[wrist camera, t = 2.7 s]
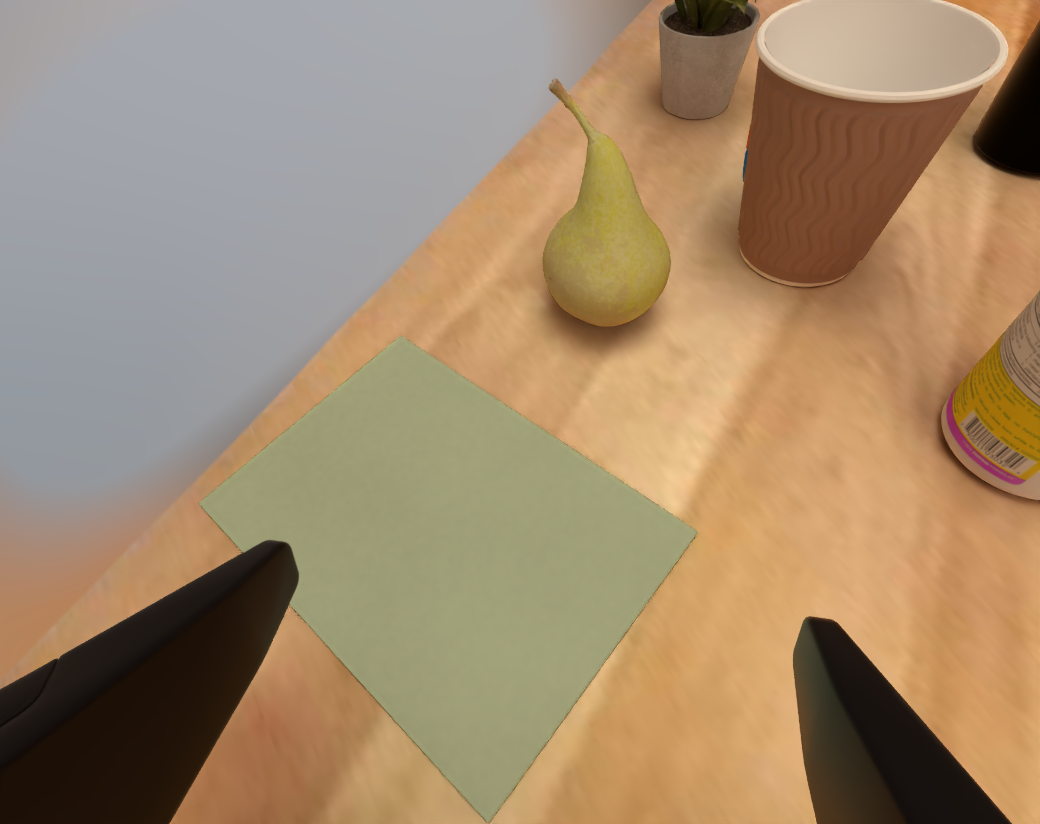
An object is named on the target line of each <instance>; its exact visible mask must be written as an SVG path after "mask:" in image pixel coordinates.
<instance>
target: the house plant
mask: <svg viewBox="0 0 1040 824" xmlns="http://www.w3.org/2000/svg"><path fill="white" fill-rule="evenodd" d="M755 2H756V0H755ZM759 19H760V14H759V11H758V9H757V8H756V7H755V6H753V5H752V4H751V3H748V0H675V2H674V3H672V4H670V5H669V6H667V7H666V8H665V9H664V10H663V11H662V12H661V14H660V16H659V35H660V57H661V79H662V102H663V107H664V108H665V110H666V111H667V112H669V113H671V114H673V115H676V116H678V117H681V118H685V119H706V118H710V117H714V116H716V115H719V114H720V113H722V112H723V111H724V110H725V109H726V108H727V106H728V103H729V101H730V98H731V95H732V93H733V90H734V87H735V84H736V82H737V79H738V76H739V74H740V71H741V68H742V66H743V63H744V60H745V58H746V55H747V52H748V50H749V47H750V44H751V41H752V39H753V36H754V33H755V31H756V28H757V25H758V23H759Z"/></svg>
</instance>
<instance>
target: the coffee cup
mask: <svg viewBox="0 0 1040 824" xmlns="http://www.w3.org/2000/svg"><path fill="white" fill-rule="evenodd" d="M765 35H766V38H765ZM764 40H765V42H764ZM756 48H757V52H758V55H759V62H758V69H757V77H756V86H755V94H754V102H753V110H752V120H751V125H750V130H749V135H748V141H747V147H746V148H747V150H746V153H745V159H744V167H743V182H744V185H743V193H742V201H741V210H740V219H739V226H738V230H739V249H740V253H741V255H742V257H743V259H744V261H745V262H746V263H747V264H748V265H749V266H750V267H751V268H752V269H753V270H755V271H756V272H757V273H759V274H760V275H762V276H764V277H766V278H767V279H770V280H772V281H775V282H778V283H782V284H785V285H790V286H798V287H814V286H821V285H826V284H829V283H833V282H836V281H838V280H840V279H841V278H843V277H845V276H846V275H847V274H848V273H850V272H851V270H852V269H853V268H854V267H855V266H856V264H857V263H858V262H859V261H860V260H862V259H863V257H864V256H865V255H866V254H867V252H868V251H869V249H870V248H871V246H872V245H873V243H874V242H875V241H876V239H877V238H878V236H879V235H880V233H881V232H882V231H883V229H884V228H885V226H886V225H887V223H888V222H889V220H890V219H891V217H892V216H893V215H894V213H895V212H896V210H897V209H898V207H899V206H900V205H901V203H902V202H903V200H904V199H905V197H906V196H907V194H908V193H909V191H910V190H911V189H912V187H913V186H914V184H915V183H916V181H917V180H918V178H919V177H920V175H921V174H922V172H923V171H924V170H925V168H926V167H927V166H928V164H929V163H930V161H931V160H932V158H933V157H934V155H935V154H936V153H937V151H938V150H939V148H940V147H941V145H942V144H943V142H944V141H945V139H946V138H947V137H948V135H949V134H950V132H951V131H952V129H953V128H954V126H955V125H956V123H957V122H958V120H959V119H960V118H961V116H962V115H963V113H964V112H965V111H966V109H967V108H968V106H969V105H970V103H971V102H972V101H973V99H974V98H975V96H976V95H977V93H978V92H979V90H980V89H981V88H982V86H983V84H984V83H986V82H987V81H989V80H990V79H992V78H993V77H994V76H995V75H996V74H997V73H998V72H999V71H1000V70H1001V69H1002V67H1003V66H1004V64H1005V62H1006V60H1007V55H1008V45H1007V41H1006V39H1005V37H1004V35H1003V34H1002V33H1001V31H1000V30H999V29H998V28H997V27H996V26H995V25H994V24H992V23H991V22H990V21H988V20H987V19H985V18H984V17H982V16H980V15H978V14H977V13H975V12H972V11H970V10H968V9H966V8H963V7H961V6H958V5H955V4H952V3H949V2H946V1H942V0H802V1H799V2H796V3H793V4H790V5H788V6H786V7H784V8H782V9H780V10H778V11H777V12H775V13H773V14H772V15H771V16H770V17H768V18H767V19H766V20H765V21H764V23H763V24H762V25H761V27H760V29H759V30H758V32H757V35H756ZM995 58H996V59H995ZM994 60H995V61H994ZM993 61H994V63H993ZM992 63H993V64H992ZM991 64H992V66H991ZM990 66H991V67H990Z"/></svg>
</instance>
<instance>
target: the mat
mask: <svg viewBox="0 0 1040 824" xmlns="http://www.w3.org/2000/svg"><path fill="white" fill-rule="evenodd" d="M198 504H199V505H200V506H201V507H202V508H203V509H204V510H205V512H206V513H207V514H208V515H209V516H210V517H211V518H212V519H213V520H214V522H215V523H216V524H217V525H218V526H219V527H220V528H221V529H222V530H223V531H224V533H225V534H226V535H227V536H228V537H229V538H230V539H231V540H232V541H233V543H234V544H235V545H236V546H237V547H238V548H239V549H240V550H241V551H242V553H244V552H245V551H247V550H249V549H251V548H252V547H254V546H256V545H258V544H260V543H261V542H263V541H266V540H276V541H283V542H287V543H288V544H289V545H290V546H291V548H292V552H293V555H294V558H295V561H296V565H297V568H298V571H299V582H298V585H297V588H296V590H295V592H294V595H293V597H292V599H291V601H290V603H289V604H290V606H291V607H292V608H293V609H294V610H295V611H296V612H297V613H298V614H299V616H300V617H301V618H302V619H303V620H304V621H305V622H306V623H307V624H308V625H309V627H310V628H311V629H312V630H313V631H314V632H315V633H316V634H317V635H318V637H319V638H320V639H321V640H322V641H323V642H324V643H325V644H326V645H327V646H328V648H329V649H330V650H331V651H332V652H333V653H334V654H335V655H336V656H337V658H338V659H339V660H340V661H341V662H342V663H343V664H344V665H345V666H346V667H347V669H348V670H349V671H350V672H351V673H352V674H353V675H354V676H355V677H356V679H357V680H358V681H359V682H360V683H361V684H362V685H363V686H364V687H365V688H366V690H367V691H368V692H369V693H370V694H371V695H372V696H373V697H374V698H375V700H376V701H377V702H378V703H379V704H380V705H381V706H382V707H383V708H384V709H385V711H386V712H387V713H388V714H389V715H390V716H391V717H392V718H393V719H394V721H395V722H396V723H397V724H398V725H399V726H400V727H401V728H402V729H403V730H404V732H405V733H406V734H407V735H408V736H409V737H410V738H411V739H412V740H413V742H414V743H415V744H416V745H417V746H418V747H419V748H420V749H421V750H422V751H423V753H424V754H425V755H426V756H427V757H428V758H429V759H430V760H431V761H432V763H433V764H434V765H435V766H436V767H437V768H438V769H439V770H440V771H441V772H442V774H443V775H444V776H445V777H446V778H447V779H448V780H449V781H450V782H451V784H452V785H453V786H454V787H455V788H456V789H457V790H458V791H459V792H460V793H461V795H462V796H463V797H464V798H465V799H466V800H467V801H468V802H469V803H470V805H471V806H472V807H473V808H474V809H475V810H476V811H477V812H478V813H479V814H480V816H481V817H482V818H483V819H484V820H485V821H486V822H487V823H490V821H491V820H492V819H493V817H494V816H495V814H496V813H497V812H498V810H499V809H500V807H501V806H502V805H503V803H504V802H505V800H506V799H507V798H508V796H509V795H510V794H511V792H512V791H513V789H514V788H515V787H516V785H517V784H518V782H519V781H520V780H521V778H522V777H523V775H524V774H525V773H526V771H527V770H528V768H529V767H530V766H531V764H532V763H533V761H534V760H535V759H536V757H537V756H538V755H539V753H540V752H541V750H542V749H543V748H544V746H545V745H546V743H547V742H548V741H549V739H550V738H551V736H552V735H553V734H554V732H555V731H556V729H557V728H558V727H559V725H560V724H561V723H562V721H563V720H564V718H565V717H566V716H567V714H568V713H569V711H570V710H571V709H572V707H573V706H574V704H575V703H576V702H577V700H578V699H579V697H580V696H581V695H582V693H583V692H584V691H585V689H586V688H587V686H588V685H589V684H590V682H591V681H592V679H593V678H594V677H595V675H596V674H597V672H598V671H599V670H600V668H601V667H602V665H603V664H604V663H605V661H606V660H607V658H608V657H609V656H610V654H611V653H612V652H613V650H614V649H615V647H616V646H617V645H618V643H619V642H620V640H621V639H622V638H623V636H624V635H625V633H626V632H627V631H628V629H629V628H630V626H631V625H632V624H633V622H634V621H635V620H636V618H637V617H638V615H639V614H640V613H641V611H642V610H643V608H644V607H645V606H646V604H647V603H648V601H649V600H650V599H651V597H652V596H653V594H654V593H655V592H656V590H657V589H658V588H659V586H660V585H661V583H662V582H663V581H664V579H665V578H666V576H667V575H668V574H669V572H670V571H671V569H672V568H673V567H674V565H675V564H676V562H677V561H678V560H679V558H680V557H681V555H682V554H683V553H684V551H685V550H686V549H687V547H688V546H689V544H690V543H691V542H692V540H693V539H694V537H695V536H696V535H697V533H698V531H696V530H695V529H693V528H692V527H690V526H689V525H687V524H686V523H684V522H683V521H681V520H680V519H678V518H677V517H675V516H674V515H672V514H671V513H669V512H668V511H666V510H665V509H663V508H662V507H660V506H659V505H657V504H655V503H654V502H652V501H651V500H649V499H648V498H646V497H645V496H643V495H642V494H640V493H639V492H637V491H636V490H634V489H633V488H631V487H630V486H628V485H627V484H625V483H624V482H622V481H621V480H619V479H618V478H616V477H615V476H613V475H612V474H610V473H609V472H607V471H605V470H604V469H602V468H601V467H599V466H598V465H596V464H595V463H593V462H592V461H590V460H589V459H587V458H586V457H584V456H583V455H581V454H580V453H578V452H577V451H575V450H574V449H572V448H571V447H569V446H568V445H566V444H565V443H563V442H562V441H560V440H558V439H557V438H555V437H554V436H552V435H551V434H549V433H548V432H546V431H545V430H543V429H542V428H540V427H539V426H537V425H536V424H534V423H533V422H531V421H530V420H528V419H527V418H525V417H524V416H522V415H521V414H519V413H518V412H516V411H515V410H513V409H512V408H510V407H508V406H507V405H505V404H504V403H502V402H501V401H499V400H498V399H496V398H495V397H493V396H492V395H490V394H489V393H487V392H486V391H484V390H483V389H481V388H480V387H478V386H477V385H475V384H474V383H472V382H471V381H469V380H468V379H466V378H465V377H463V376H462V375H460V374H458V373H457V372H455V371H454V370H452V369H451V368H449V367H448V366H446V365H445V364H443V363H442V362H440V361H439V360H437V359H436V358H434V357H433V356H431V355H430V354H428V353H427V352H425V351H424V350H422V349H421V348H419V347H418V346H416V345H415V344H413V343H412V342H410V341H408V340H407V339H405V338H404V337H402V336H400V337H398V338H397V339H396V340H395V341H394V342H392V343H391V344H390V345H389V346H388V347H386V348H385V349H384V350H383V351H381V352H380V353H379V354H378V355H377V356H375V357H374V358H373V359H372V360H371V361H369V362H368V363H367V364H366V365H365V366H363V367H362V368H361V369H360V370H359V371H357V372H356V373H355V374H354V375H353V376H351V377H350V378H349V379H348V380H346V381H345V382H344V383H343V384H342V385H340V386H339V387H338V388H337V389H336V390H334V391H333V392H332V393H331V394H330V395H328V396H327V397H326V398H325V399H324V400H322V401H321V402H320V403H319V404H317V405H316V406H315V407H314V408H313V409H311V410H310V411H309V412H308V413H307V414H305V415H304V416H303V417H302V418H301V419H299V420H298V421H297V422H296V423H295V424H293V425H292V426H291V427H290V428H288V429H287V430H286V431H285V432H284V433H282V434H281V435H280V436H279V437H278V438H276V439H275V440H274V441H273V442H272V443H270V444H269V445H268V446H267V447H266V448H264V449H263V450H262V451H261V452H260V453H258V454H257V455H256V456H255V457H253V458H252V459H251V460H250V461H249V462H247V463H246V464H245V465H244V466H243V467H241V468H240V469H239V470H238V471H237V472H235V473H234V474H233V475H232V476H231V477H229V478H228V479H227V480H226V481H224V482H223V483H222V484H221V485H220V486H218V487H217V488H216V489H215V490H214V491H212V492H211V493H210V494H209V495H208V496H206V497H205V498H204V499H203V500H202V501H200V502H199V503H198Z"/></svg>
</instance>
